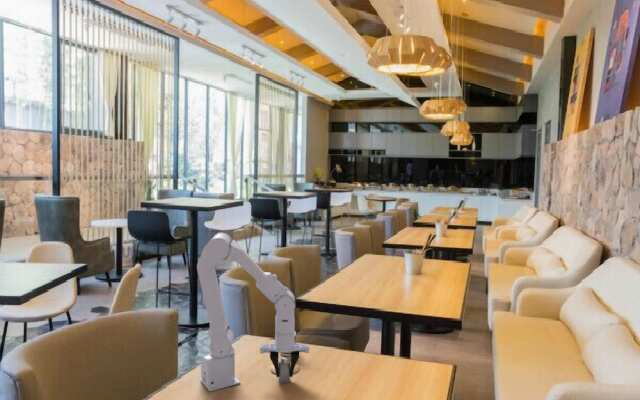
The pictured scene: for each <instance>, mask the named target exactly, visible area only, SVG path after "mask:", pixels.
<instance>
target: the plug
mask: <svg viewBox="0 0 640 400" xmlns="http://www.w3.org/2000/svg"><path fill="white" fill-rule="evenodd" d="M278 362H279V377H278V382H279V383H280V384H288V383H290V382H291V377H290V362H291V361H289V359H288V358H286V356H284V357H281V358H280V360H279V361H278Z"/></svg>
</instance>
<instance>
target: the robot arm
mask: <svg viewBox="0 0 640 400" xmlns="http://www.w3.org/2000/svg"><path fill="white" fill-rule="evenodd" d="M226 257H227V258H226ZM225 258H226V261H227V262H234V263H237V264H238V265H239V266H241V268H243V269H244V271H246V272H247V273H248V274H249V275H250V276H251V277H252V278H254V280H255V281H256V282H255V287H256V288H257V289H258V290H259V291H260V292H261V293H262V294H263V295H264V297H266V298H267V299H268V300H269V301H270V302H271V303H273V304H274V308H275V311H276V313H275V316H274V317H275V319H274V320H275V321H274V323H275V324H274V328H275V331H274V332H275V333H274V343H268V344H260V345H259V354H260V355H261V354H264V353H267V354H268V353H269V358H270V361H271V362H272V365H274V367H275V371H276V374H275V375H276V378H279V364H278V362H279V356H280V355H279V353H280V354H281V352H291V356H290V362H291V366H290V378H293V375H294V374H293V371H294V367H295V365H296V364H297V362H298V361H299V358H300V353H305V354H309V353H310V345H309V344H304V343H297V342H296V343H294V331H295V330H296V329H295V320H296V319H295V318H296V317H295V310H296V309H295V308H296V302H295V301H296V299H295V295H294V293H293V292H292V290H290V289H289V287H288V286H284V285H283V283H281V282H280V280H279V279H278V275H277V274H276V273H271V272H269V271H268V272H267V271H263V269H262V268H261V267H260V266H259V265H258V264H257V262H255V260H254V259H253V258H252V256H250V255H249V254H248V252H246V250H245V249H243V246H241V245H240V243H238V242H237V241H236V240H235V239H232V237H231V236H230V235H229V234H228V233H226V232H217V233H216V234H214V236H212V237H211V239H210V240H209V241H207V243H206V245H205V246H204V247H203V250H202V252H201V254H200V257H199V259H198V262H197V264H196V270H197V274H198V279H199V283H200V287H201V293H202V296H203V297H202V298H203V300H204V301H203V302H204V305H205V309H206V314H207V318H208V323H209V337H210V342H209V346H208V349H209V353H208V354H206V355H205V356H202V357H201V361H200V382H201V384H203V386H205V388H206V389H207V390H208V391H209V392H213V391H216V390H220V389H225V388H228V387H231V386H232V387H233V386H236V385H239V384H241V381H240V380H239V379H238V378H237V377H236V376H235V375H236V372H235V371H236V370H235V367H236V365H235V364H236V363H235V361H236V360H235V358H236V357H235V355H236V352H235V348H234V347H233V342H234V339H235V332H234V330H233V329H232V328H231V325H230V323H229V320H228V319H227V317H226V312H225V307H224V304H223V298H222V293H221V290H220V286H219V285H220V284H219V280H218V277H217V276H218V275H217V272H216V267H217V265H218V264H219V262H221V261H223V260H224V259H225Z"/></svg>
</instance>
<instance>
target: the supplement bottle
mask: <svg viewBox="0 0 640 400" xmlns="http://www.w3.org/2000/svg"><path fill="white" fill-rule="evenodd" d="M294 343H297V332H296V331H295V330H294ZM280 355H282V356H284V357H291V352H281V353H280Z"/></svg>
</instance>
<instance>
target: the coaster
mask: <svg viewBox="0 0 640 400" xmlns="http://www.w3.org/2000/svg"><path fill="white" fill-rule="evenodd" d="M279 362H280V361H278V364H279ZM289 362H290V366H291V361H289ZM269 370H270V372H271V373H272V374H275V375H276V371H275V367H274V365H273V364H271V365H270V369H269ZM299 370H300V366H299V365H298V364H297V363H296V365H295V367H294V371H293V375H294V374H297V373H298V372H299Z"/></svg>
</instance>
